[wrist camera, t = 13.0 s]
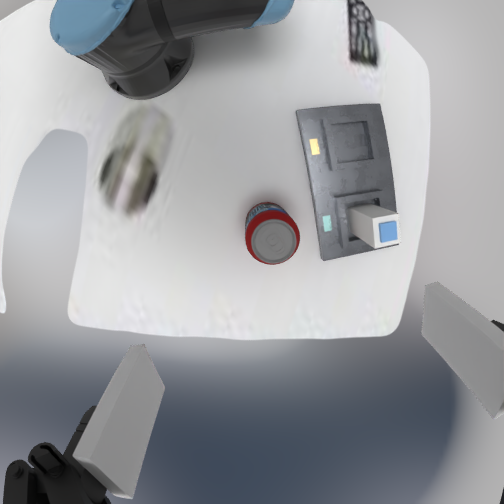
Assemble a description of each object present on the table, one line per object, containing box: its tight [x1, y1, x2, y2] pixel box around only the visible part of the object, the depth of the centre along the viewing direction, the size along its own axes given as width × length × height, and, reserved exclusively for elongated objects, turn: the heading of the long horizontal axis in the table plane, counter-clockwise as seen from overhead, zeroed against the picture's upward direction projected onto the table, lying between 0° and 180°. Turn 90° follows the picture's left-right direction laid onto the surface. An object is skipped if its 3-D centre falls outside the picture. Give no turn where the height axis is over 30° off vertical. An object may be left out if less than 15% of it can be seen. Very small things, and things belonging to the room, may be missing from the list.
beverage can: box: [245, 202, 300, 265], centre depth 40 cm, size 7×7×12 cm
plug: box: [347, 203, 401, 249], centre depth 39 cm, size 4×4×11 cm
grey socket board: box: [296, 104, 399, 261], centre depth 42 cm, size 24×14×4 cm, turn 11°
